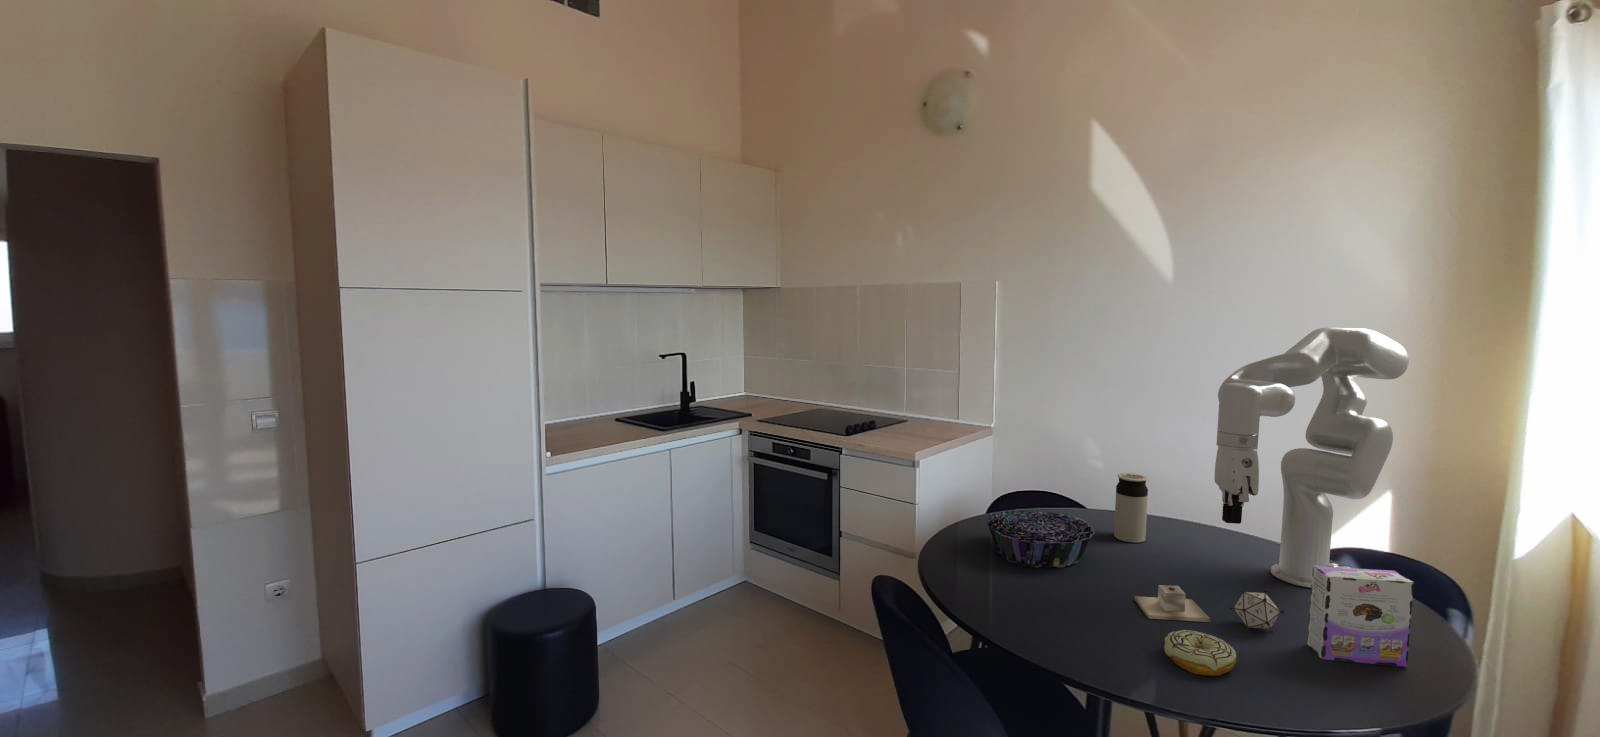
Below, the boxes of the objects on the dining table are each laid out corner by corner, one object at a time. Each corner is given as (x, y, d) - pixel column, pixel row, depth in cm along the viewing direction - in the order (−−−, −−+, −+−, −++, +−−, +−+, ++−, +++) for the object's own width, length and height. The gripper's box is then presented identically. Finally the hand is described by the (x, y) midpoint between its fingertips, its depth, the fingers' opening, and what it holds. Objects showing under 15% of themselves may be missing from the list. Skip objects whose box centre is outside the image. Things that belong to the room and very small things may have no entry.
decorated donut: (1155, 662, 125) (1156, 641, 124) (1175, 640, 133) (1176, 620, 132) (1225, 687, 117) (1226, 665, 116) (1241, 661, 125) (1243, 640, 124)
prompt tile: (1191, 602, 148) (1192, 581, 148) (1210, 622, 139) (1211, 599, 139) (1134, 599, 150) (1135, 578, 150) (1149, 618, 141) (1150, 596, 141)
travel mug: (1150, 543, 184) (1154, 480, 182) (1122, 543, 184) (1124, 480, 182) (1136, 533, 192) (1139, 472, 190) (1109, 533, 192) (1111, 472, 190)
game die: (1263, 650, 135) (1283, 627, 129) (1218, 624, 140) (1236, 601, 133) (1276, 618, 140) (1296, 594, 133) (1232, 594, 144) (1250, 570, 138)
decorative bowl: (977, 542, 191) (975, 509, 190) (1075, 536, 190) (1073, 502, 189) (1001, 580, 166) (999, 541, 165) (1114, 573, 164) (1112, 534, 163)
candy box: (1388, 652, 127) (1395, 569, 126) (1408, 668, 122) (1416, 582, 120) (1305, 644, 131) (1311, 563, 129) (1321, 660, 125) (1328, 575, 123)
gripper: (1275, 448, 137) (1268, 534, 139) (1238, 434, 152) (1233, 512, 153) (1235, 447, 138) (1229, 532, 140) (1203, 433, 153) (1198, 510, 155)
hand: (1231, 522), depth 147 cm, fingers closed
